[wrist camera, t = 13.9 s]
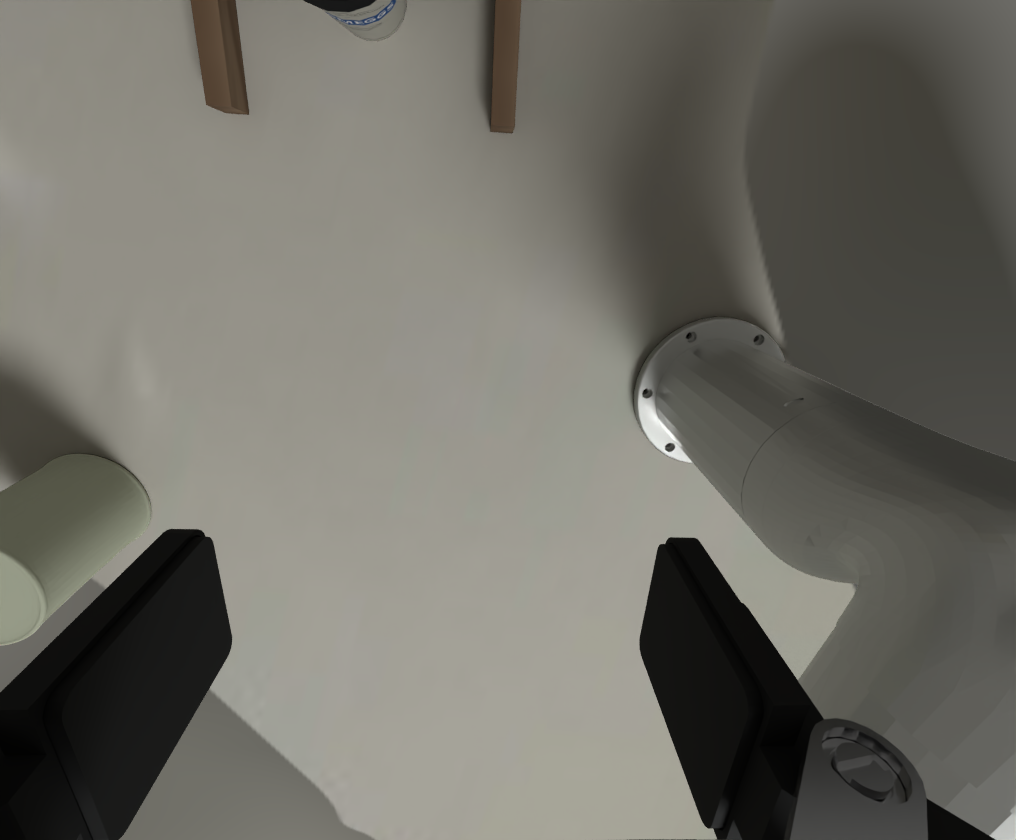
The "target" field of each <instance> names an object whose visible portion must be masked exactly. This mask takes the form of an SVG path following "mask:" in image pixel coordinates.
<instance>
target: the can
mask: <svg viewBox="0 0 1016 840" xmlns="http://www.w3.org/2000/svg"><path fill="white" fill-rule="evenodd" d="M150 518H151V504H150V500H149V497H148V495H147V493H146V491H145V489H144V488H143V486H142V485H141V483H140V482H139V481H138V480H137V479H136V478H135V477H134V476H133V475H132V474H131V473H130V472H129V471H127V470H126V469H124V468H123V467H122V466H120V465H118V464H116V463H114V462H112V461H110V460H108V459H105V458H102V457H99V456H95V455H89V454H69V455H64V456H61V457H58V458H55V459H53V460H51V461H50V462H48V463H47V464H46V465H44V466H43V467H42V468H41V469H39V470H38V471H36V472H34V473H33V474H31V475H29V476H28V477H26V478H24V479H22V480H21V481H19V482H17V483H15V484H14V485H12V486H10V487H8V488H7V489H5V490H3V491H1V492H0V646H1V645H8V644H12V643H16V642H19V641H21V640H23V639H25V638H27V637H29V636H30V635H32V634H33V633H34V632H35V631H36V630H38V628H39V627H40V626H41V624H43V623H44V621H46V619H48V618H49V617H50V616H51V615H52V614H53V613H54V612H55V611H56V610H57V609H58V608H59V607H60V606H61V605H62V604H63V603H64V602H66V601H67V600H68V599H69V598H70V597H71V596H72V595H73V594H74V593H75V592H76V591H77V590H78V589H80V588H81V586H83V585H84V584H85V583H86V582H87V581H88V580H89V579H90V578H91V577H93V576H94V575H95V574H96V573H97V572H98V571H99V570H100V569H101V568H102V567H104V566H105V565H106V564H107V563H108V562H109V561H110V560H111V559H112V558H113V557H115V556H116V555H117V554H118V553H119V552H120V551H121V550H122V549H124V548H125V547H126V546H127V545H128V544H129V543H131V542H132V541H134V540H136V539H137V538H138V537H140V536H141V535H142V534H143V533H144V531H145V530H146V528H147V527H148V525H149V522H150Z"/></svg>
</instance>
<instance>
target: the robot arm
mask: <svg viewBox="0 0 1016 840" xmlns="http://www.w3.org/2000/svg"><path fill="white" fill-rule="evenodd" d="M688 333H690V335H689V337H687V338H686V335H687V334H688ZM755 337H756V338H755ZM754 338H755V340H754ZM645 389H647V390H646V392H644V393H642V392H643V390H645ZM634 409H635V414H636V419H637V421H638V424H639V426H640V428H641V430H642V432H643V433H644V435H645V436H646V438H647V439H648V440H649V441H650V442H651V444H652V445H653V446H654V447H655V448H656V449H657V450H659V451H660V452H661V453H663V454H664V455H666V456H668V457H671V458H673V459H675V460H678V461H682V462H687V463H694V465H695V466H696V467H697V468H698V469H699V470H700V471H701V473H702V474H703V475H704V476H705V477H706V478H707V479H708V481H709V482H710V483H711V484H712V485H713V486H714V487H715V489H716V490H717V491H718V492H719V493H720V494H721V495H722V497H723V498H724V499H725V500H726V501H727V502H728V503H729V505H730V506H731V507H732V508H733V509H734V510H735V511H736V513H737V514H738V515H739V516H740V517H741V518H742V520H743V521H744V522H745V523H746V524H747V525H748V526H749V528H750V529H751V530H752V531H753V532H754V533H755V535H756V536H757V537H758V538H759V539H760V540H761V541H762V542H763V544H764V545H765V546H766V547H767V548H768V549H769V550H770V551H771V552H772V553H773V554H775V555H776V556H777V557H778V558H779V559H781V560H782V561H783V562H785V563H786V564H788V565H789V566H791V567H793V568H795V569H797V570H799V571H801V572H803V573H806V574H808V575H811V576H815V577H818V578H822V579H826V580H831V581H835V582H842V583H851V584H858V587H857V589H856V592H855V594H854V596H853V598H852V599H851V601H850V603H849V604H848V606H847V607H846V609H845V610H844V612H843V614H842V615H841V616H840V618H839V619H838V621H837V624H836V627H835V628H834V630H833V631H832V632H831V634H830V635H829V637H828V638H827V640H826V641H825V642H824V644H823V645H822V647H821V648H820V650H819V651H818V652H817V654H816V655H815V657H814V658H813V660H812V661H811V662H810V664H809V665H808V667H807V668H806V670H805V671H804V673H803V674H802V675H801V677H800V678H799V680H797V679H796V677H795V676H794V674H793V673H792V672H791V670H790V669H789V667H788V666H787V664H786V663H785V661H784V660H783V658H782V657H781V656H780V654H779V653H778V651H777V650H776V648H775V647H774V645H773V644H772V642H771V641H770V640H769V638H768V637H767V635H766V634H765V632H764V631H763V629H762V628H761V626H760V625H759V624H758V622H757V621H756V619H755V618H754V616H753V615H752V613H751V612H750V610H749V609H748V608H747V607H746V606H745V605H744V604H743V603H741V602H740V600H739V599H738V597H737V596H736V595H735V593H734V592H733V590H732V589H731V587H730V586H729V584H728V583H727V581H726V580H725V578H724V577H723V575H722V574H721V572H720V571H719V569H718V568H717V567H716V565H715V564H714V562H713V561H712V559H711V558H710V556H709V555H708V553H707V552H706V550H705V549H704V547H703V546H702V544H701V543H700V542H699V540H698V539H696V538H672V537H670V538H668V540H667V541H666V544H661V545H659V547H658V550H657V555H656V560H655V565H654V570H653V575H652V580H651V585H650V590H649V595H648V600H647V605H646V609H645V614H644V619H643V624H642V629H641V634H640V652H641V656H642V659H643V662H644V665H645V667H646V670H647V673H648V676H649V678H650V681H651V684H652V686H653V689H654V692H655V695H656V697H657V700H658V703H659V706H660V708H661V711H662V714H663V716H664V719H665V722H666V725H667V727H668V730H669V733H670V736H671V738H672V741H673V744H674V746H675V749H676V752H677V755H678V757H679V760H680V763H681V766H682V768H683V771H684V774H685V776H686V779H687V782H688V785H689V787H690V790H691V793H692V796H693V798H694V801H695V804H696V806H697V809H698V812H699V815H700V817H701V820H702V822H703V823H704V825H705V826H706V827H707V828H713V829H714V832H715V834H716V837H717V839H718V840H1016V461H1013V460H1011V459H1008V458H1005V457H1002V456H999V455H996V454H993V453H990V452H987V451H985V450H981V449H979V448H976V447H973V446H970V445H968V444H965V443H963V442H960V441H958V440H955V439H953V438H950V437H947V436H945V435H943V434H940V433H938V432H936V431H933V430H931V429H928V428H926V427H924V426H922V425H919V424H917V423H915V422H913V421H910V420H908V419H906V418H904V417H902V416H900V415H897V414H895V413H893V412H891V411H889V410H887V409H884V408H882V407H880V406H877V405H875V404H873V403H870V402H868V401H866V400H864V399H862V398H860V397H858V396H856V395H853V394H851V393H849V392H847V391H845V390H843V389H841V388H839V387H836V386H834V385H832V384H830V383H828V382H826V381H824V380H821V379H819V378H817V377H815V376H813V375H811V374H809V373H806V372H804V371H802V370H800V369H798V368H796V367H793V366H791V365H789V364H787V363H786V361H785V358H784V354H783V353H782V351H781V349H780V347H779V346H778V344H777V342H776V341H775V340H774V339H773V338H772V337H771V336H770V335H769V334H768V333H767V332H765V331H764V330H762V329H761V328H759V327H758V326H756V325H753V324H751V323H749V322H746V321H743V320H739V319H735V318H729V317H713V318H706V319H701V320H698V321H695V322H692V323H689V324H687V325H685V326H683V327H681V328H679V329H677V330H676V331H674V332H672V333H671V334H670V335H669V336H667V337H666V338H665V339H663V340H662V341H661V342H660V343H659V344H658V345H657V346H656V348H655V349H654V350H653V351H652V352H651V353H650V355H649V356H648V358H647V359H646V361H645V363H644V364H643V366H642V368H641V371H640V373H639V375H638V378H637V381H636V386H635V391H634ZM668 443H669V444H668ZM666 444H668V445H666ZM231 645H232V634H231V629H230V624H229V619H228V614H227V609H226V604H225V599H224V594H223V589H222V584H221V579H220V574H219V569H218V564H217V559H216V554H215V549H214V544H213V541H212V539H211V538H210V537H205V535H204V533H203V532H202V531H201V530H198V529H169V530H167V531H165V532H164V533H163V534H162V535H161V536H160V537H158V538H157V539H156V540H155V541H154V542H153V543H152V544H151V545H150V546H149V547H148V548H147V549H146V550H145V551H144V552H143V553H142V554H141V555H140V556H139V557H138V558H137V559H136V560H135V561H134V562H133V563H132V564H131V565H130V566H129V567H128V568H127V569H126V570H125V571H124V572H123V573H122V574H121V575H120V576H119V577H118V578H117V579H116V580H115V581H114V582H113V583H112V584H111V585H110V586H109V587H107V588H106V589H105V590H104V591H103V592H102V593H101V594H100V595H99V596H98V597H97V598H96V599H95V600H94V601H93V602H92V603H91V604H90V605H89V606H88V607H87V608H86V609H85V610H84V611H83V612H82V613H81V614H80V615H79V616H78V617H77V618H76V619H75V620H74V621H73V622H72V623H71V624H70V625H69V626H68V627H67V628H66V629H65V630H64V631H63V632H62V633H61V634H60V635H59V636H57V637H56V639H54V640H53V641H52V642H51V643H50V644H49V645H48V647H46V648H45V649H44V650H43V651H42V652H41V653H40V654H39V655H38V656H37V657H36V658H35V659H34V660H33V661H32V662H31V663H30V664H29V665H28V666H27V667H26V668H25V669H24V670H23V671H22V672H21V673H20V674H19V675H18V676H17V677H16V678H15V679H14V680H13V681H12V682H11V683H10V684H9V685H8V686H7V687H5V689H4V690H2V692H0V840H119V839H120V838H121V837H122V836H123V835H124V833H125V832H126V830H127V829H128V827H129V825H130V823H131V822H132V820H133V818H134V816H135V815H136V813H137V811H138V810H139V808H140V806H141V805H142V803H143V801H144V799H145V798H146V796H147V794H148V792H149V791H150V789H151V787H152V786H153V784H154V782H155V780H156V779H157V777H158V775H159V774H160V772H161V770H162V769H163V767H164V765H165V763H166V762H167V760H168V758H169V756H170V755H171V753H172V751H173V750H174V748H175V746H176V744H177V743H178V741H179V739H180V738H181V736H182V734H183V732H184V731H185V729H186V727H187V726H188V724H189V722H190V720H191V719H192V717H193V715H194V713H195V712H196V710H197V708H198V707H199V705H200V703H201V702H202V700H203V698H204V696H205V695H206V693H207V691H208V690H209V688H210V686H211V684H212V683H213V681H214V679H215V678H216V676H217V674H218V672H219V671H220V669H221V667H222V666H223V664H224V662H225V660H226V659H227V657H228V655H229V652H230V649H231ZM629 840H695V839H629Z"/></svg>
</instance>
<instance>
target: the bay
mask: <svg viewBox="0 0 1016 840" xmlns="http://www.w3.org/2000/svg"><path fill="white" fill-rule="evenodd" d="M191 5H192V12H193V19H194V26H195V32H196V39H197V46H198V53H199V59H200V66H201V73H202V80H203V86H204V93H205V100H206V105H208V106H210V107H213V108H215V109H217V110H220V111H222V112H224V113H232V114H247V115H249V109H248V101H247V92H246V84H245V76H244V68H243V59H242V51H241V43H240V35H239V26H238V18H237V10H236V2H235V0H191ZM520 13H521V0H495V21H494V49H493V76H492V104H491V132H502V133H513V130H514V127H515V110H516V90H517V71H518V52H519V32H520Z"/></svg>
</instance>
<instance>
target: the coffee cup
mask: <svg viewBox="0 0 1016 840" xmlns="http://www.w3.org/2000/svg"><path fill="white" fill-rule="evenodd" d="M304 1H306V2H308V3H310V4H312V5H314V6H317V7H319V8H321V9H322V10H324V11H325V12H326V13H327V14H329V15H330V16H331V17H333V18H334V19H335V20H336V21H338V22H339V23H340V24H341V25H343V26H344V27H345V28H346V29H348V30H349V31H350V32H351V33H353V34H354V35H355V36H357V37H360V38H362V39H364V40H367V41H380V40H383V39H386V38H389V37H390V36H391V35H392V34H393V33H395V32H396V31H397V30H398V28H399V26H400V25H401V23H402V21H403V20H404V16H405V11H406V7H407V0H304Z"/></svg>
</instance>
